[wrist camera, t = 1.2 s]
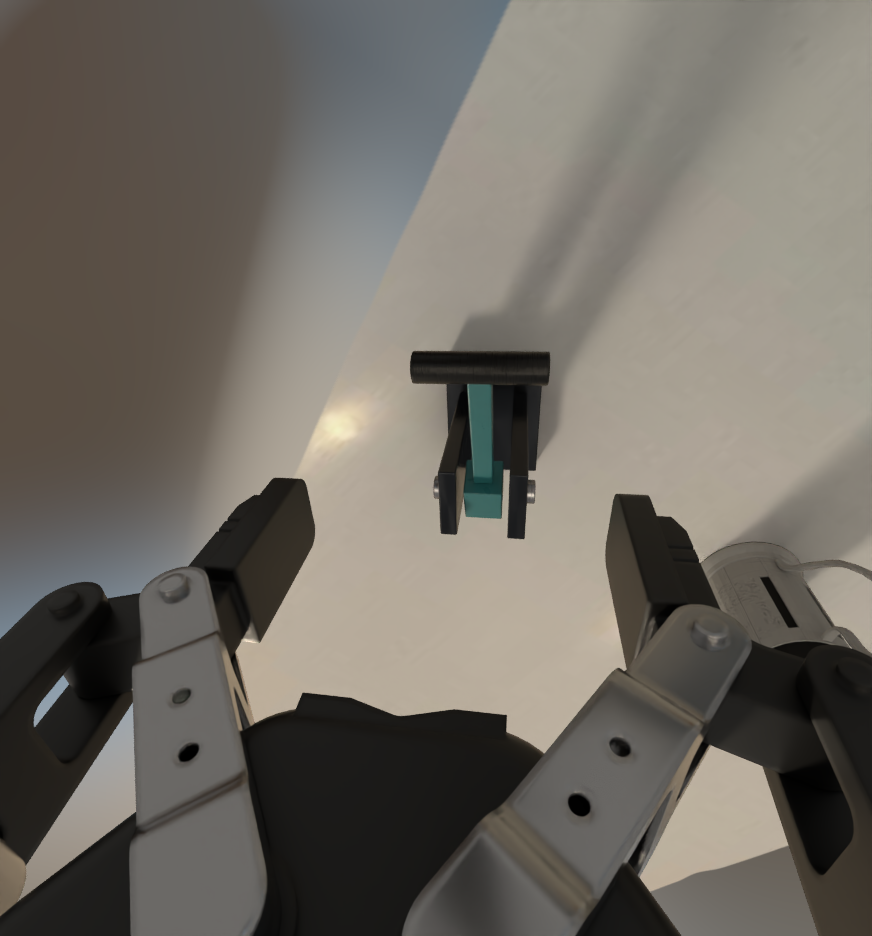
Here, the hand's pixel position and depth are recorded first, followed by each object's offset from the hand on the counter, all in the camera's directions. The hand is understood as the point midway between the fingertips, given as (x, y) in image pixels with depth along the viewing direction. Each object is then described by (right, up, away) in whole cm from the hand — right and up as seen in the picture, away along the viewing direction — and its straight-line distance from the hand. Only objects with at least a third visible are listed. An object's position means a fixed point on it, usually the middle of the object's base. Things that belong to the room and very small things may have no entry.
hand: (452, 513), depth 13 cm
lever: (+2, +4, +14) cm, 15 cm away
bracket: (+4, +6, +27) cm, 27 cm away
